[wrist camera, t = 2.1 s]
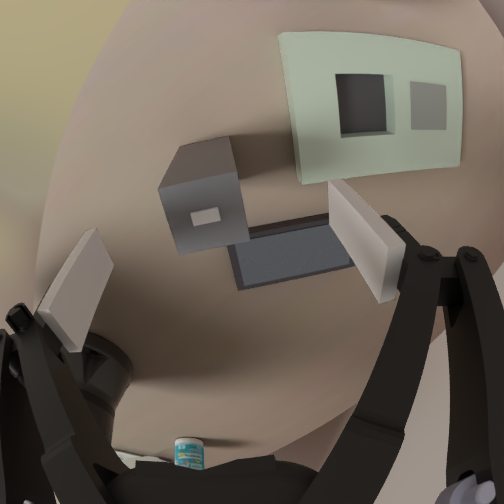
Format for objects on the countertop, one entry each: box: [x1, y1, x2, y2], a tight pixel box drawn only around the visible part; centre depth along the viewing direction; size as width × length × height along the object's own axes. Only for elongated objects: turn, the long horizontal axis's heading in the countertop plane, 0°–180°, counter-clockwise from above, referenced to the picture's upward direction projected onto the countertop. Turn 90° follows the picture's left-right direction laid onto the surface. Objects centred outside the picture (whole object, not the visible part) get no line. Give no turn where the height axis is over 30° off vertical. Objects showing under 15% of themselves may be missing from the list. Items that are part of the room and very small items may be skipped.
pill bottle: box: [175, 437, 204, 470], centre depth 56 cm, size 8×7×14 cm
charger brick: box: [158, 136, 250, 255], centre depth 21 cm, size 4×4×11 cm
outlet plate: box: [278, 31, 463, 185], centre depth 23 cm, size 20×14×2 cm
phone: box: [227, 213, 355, 291], centre depth 31 cm, size 14×7×1 cm, turn 99°
